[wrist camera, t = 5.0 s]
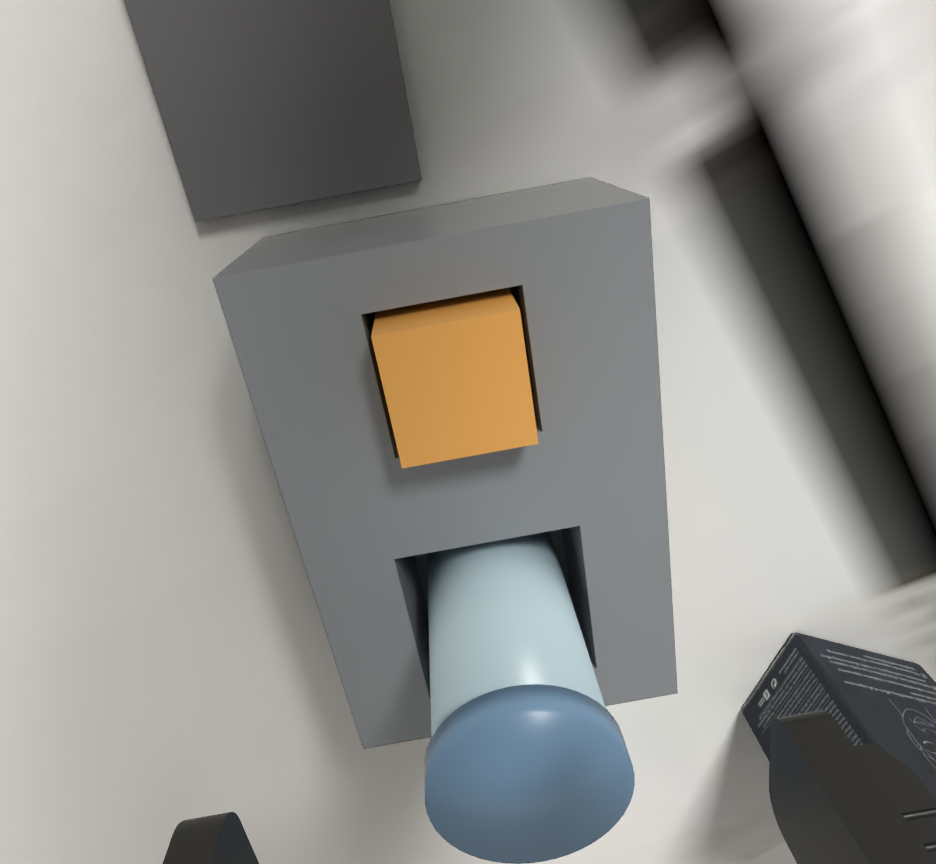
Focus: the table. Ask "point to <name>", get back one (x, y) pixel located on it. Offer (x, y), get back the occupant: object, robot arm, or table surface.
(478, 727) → the cartridge
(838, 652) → the box
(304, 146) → the mat
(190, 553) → the table surface
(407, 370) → the orange rectangular block
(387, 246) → the housing
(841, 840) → the robot arm
